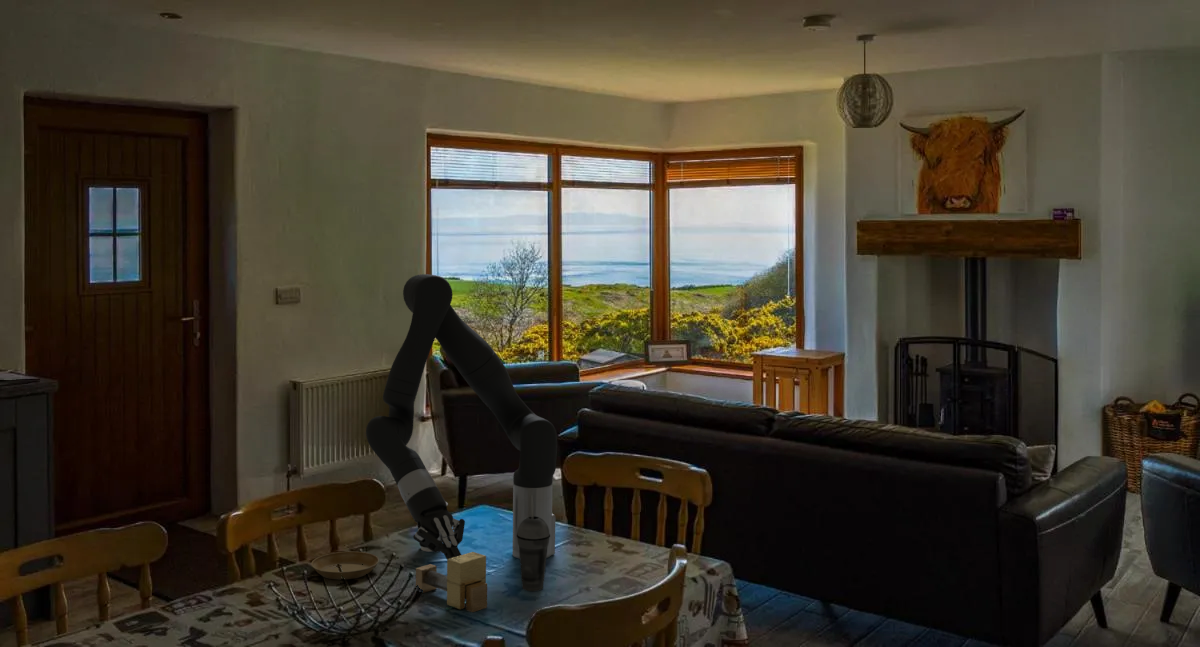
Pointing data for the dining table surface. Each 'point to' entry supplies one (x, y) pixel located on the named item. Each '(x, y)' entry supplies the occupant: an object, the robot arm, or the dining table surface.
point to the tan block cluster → (432, 580)
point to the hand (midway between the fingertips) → (458, 564)
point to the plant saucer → (345, 564)
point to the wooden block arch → (463, 576)
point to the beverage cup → (533, 551)
